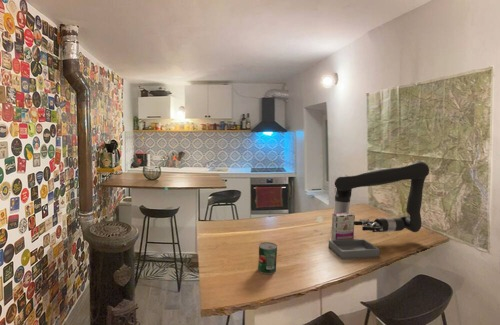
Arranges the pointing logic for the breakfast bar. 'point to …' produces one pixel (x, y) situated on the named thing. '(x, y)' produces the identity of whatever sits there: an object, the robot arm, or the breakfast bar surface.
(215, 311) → the breakfast bar surface
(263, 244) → the canned tomato
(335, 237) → the candy bar box
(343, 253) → the tray
